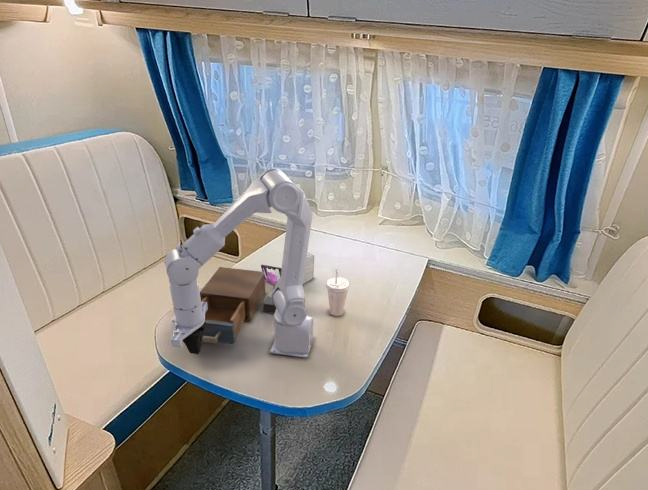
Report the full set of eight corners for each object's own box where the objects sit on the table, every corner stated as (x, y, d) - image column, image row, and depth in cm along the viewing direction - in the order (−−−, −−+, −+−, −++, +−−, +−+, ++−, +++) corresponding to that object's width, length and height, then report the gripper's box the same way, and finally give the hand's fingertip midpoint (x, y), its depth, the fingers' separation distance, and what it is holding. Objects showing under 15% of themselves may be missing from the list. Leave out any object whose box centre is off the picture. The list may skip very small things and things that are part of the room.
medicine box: (304, 274, 140) (304, 250, 136) (314, 278, 138) (314, 254, 133) (286, 283, 135) (286, 258, 130) (297, 288, 133) (297, 263, 128)
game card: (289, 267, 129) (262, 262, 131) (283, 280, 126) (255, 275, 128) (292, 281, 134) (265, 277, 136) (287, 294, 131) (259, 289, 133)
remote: (267, 304, 124) (267, 295, 123) (294, 307, 124) (294, 298, 122) (263, 312, 121) (263, 303, 119) (291, 315, 120) (291, 306, 119)
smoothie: (321, 308, 124) (323, 265, 116) (342, 303, 126) (344, 261, 118) (330, 320, 119) (332, 276, 111) (351, 315, 121) (354, 272, 114)
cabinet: (250, 321, 117) (248, 298, 113) (202, 316, 118) (199, 292, 114) (265, 293, 129) (264, 271, 125) (222, 288, 130) (219, 266, 126)
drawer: (228, 355, 103) (226, 336, 100) (179, 349, 104) (175, 330, 101) (250, 314, 118) (249, 296, 115) (207, 308, 119) (205, 291, 116)
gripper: (184, 283, 98) (191, 330, 105) (152, 320, 86) (163, 370, 93) (213, 287, 98) (219, 334, 105) (186, 324, 85) (194, 375, 92)
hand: (195, 351), depth 99 cm, fingers closed
